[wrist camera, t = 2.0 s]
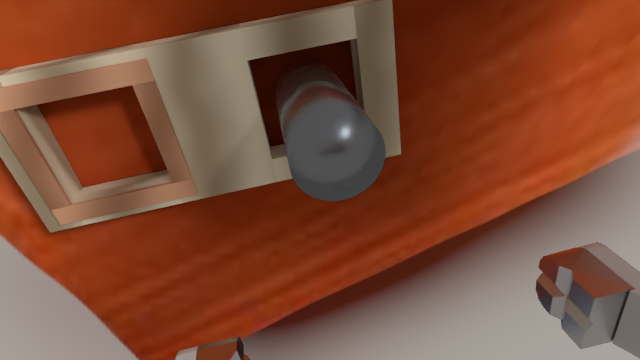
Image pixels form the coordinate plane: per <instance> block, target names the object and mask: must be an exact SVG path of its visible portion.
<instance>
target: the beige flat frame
mask: <svg viewBox="0 0 640 360" xmlns="http://www.w3.org/2000/svg"><path fill="white" fill-rule="evenodd" d="M346 40H350V45H351V53H352V62H353V71H354V79H355V88H356V97H357V102H358V104H359V105H360V106H361V108H362V109H363V110H364V112H365V113H366V114H367V115H368V117H369V118H370V119H371V121H372V122H373V123H374V125H375V126H376V127H377V128H378V130H379V131H380V133H381V135H382V137H383V140H384V143H385V149H386V155H385V158H387V157H391V156H395V155H400V154H401V141H400V124H399V107H398V90H397V73H396V56H395V39H394V22H393V5H392V0H356V1H351V2H346V3H341V4H336V5H331V6H326V7H321V8H316V9H311V10H306V11H300V12H295V13H290V14H285V15H280V16H275V17H270V18H265V19H260V20H255V21H250V22H245V23H240V24H235V25H229V26H224V27H219V28H214V29H209V30H204V31H199V32H194V33H189V34H184V35H179V36H174V37H169V38H163V39H158V40H153V41H148V42H143V43H138V44H133V45H128V46H123V47H118V48H113V49H108V50H103V51H97V52H92V53H87V54H82V55H77V56H72V57H67V58H62V59H57V60H52V61H47V62H42V63H37V64H31V65H26V66H21V67H16V68H11V69H6V70H1V71H0V157H1V159H2V160H3V162H4V163H5V165H6V166H7V168H8V169H9V171H10V172H11V174H12V175H13V177H14V178H15V180H16V181H17V183H18V184H19V186H20V187H21V189H22V191H23V192H24V194H25V195H26V197H27V198H28V200H29V201H30V203H31V204H32V206H33V207H34V209H35V210H36V212H37V213H38V215H39V216H40V218H41V220H42V221H43V223H44V224H45V226H46V227H47V229H48V230H49V232H50V233H51V232H56V231H60V230H64V229H69V228H73V227H78V226H82V225H87V224H91V223H96V222H100V221H105V220H109V219H114V218H118V217H123V216H127V215H132V214H136V213H141V212H145V211H149V210H154V209H158V208H163V207H167V206H172V205H176V204H181V203H185V202H190V201H194V200H199V199H203V198H208V197H212V196H217V195H221V194H226V193H230V192H234V191H239V190H243V189H248V188H252V187H257V186H261V185H266V184H270V183H275V182H279V181H284V180H288V179H293V177H292V175H291V172H290V168H289V163H288V159H287V154H286V149H285V144H281V145H276V146H272V147H270V143H269V139H268V135H267V131H266V127H265V123H264V119H263V115H262V111H261V107H260V103H259V99H258V95H257V91H256V87H255V83H254V79H253V75H252V71H251V67H250V63H249V60H253V59H258V58H263V57H268V56H272V55H277V54H282V53H287V52H292V51H297V50H302V49H307V48H312V47H317V46H322V45H327V44H332V43H336V42H341V41H346ZM131 85H132V86H133V88H134V91H135V93H136V96H137V98H138V101H139V103H140V105H141V108H142V110H143V113H144V115H145V117H146V120H147V122H148V125H149V127H150V129H151V132H152V134H153V137H154V139H155V141H156V144H157V146H158V149H159V151H160V153H161V156H162V158H163V161H164V163H165V166H166V168H167V169H166V170H161V171H157V172H152V173H148V174H143V175H138V176H134V177H129V178H125V179H120V180H115V181H111V182H106V183H102V184H97V185H93V186H88V187H83V186H82V185H81V183H80V181H79V179H78V178H77V176H76V174H75V172H74V170H73V169H72V167H71V165H70V163H69V161H68V160H67V158H66V156H65V154H64V152H63V151H62V149H61V147H60V145H59V143H58V142H57V140H56V138H55V136H54V135H53V133H52V131H51V129H50V127H49V126H48V124H47V122H46V120H45V118H44V117H43V115H42V113H41V111H40V109H39V108H38V106H37V104H42V103H47V102H52V101H57V100H62V99H67V98H72V97H77V96H82V95H87V94H92V93H96V92H101V91H106V90H111V89H116V88H121V87H126V86H131Z"/></svg>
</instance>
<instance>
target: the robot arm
mask: <svg viewBox="0 0 640 360" xmlns="http://www.w3.org/2000/svg"><path fill="white" fill-rule="evenodd" d="M539 268H540V270H542V272H543V273H542V274H541V275H540V276H539V278H538V279H537V281H536V292H537V295H538V299H539V300H540V302H541V304H542V305H543V307H544V308H545V309H546V311H547V312H548V313H549V314H550V315H552V316H555V317H557V318H559V319H561V325H562V329H563V330H564V331H565V332H566V333H567V334H568V335H569V337H570V338H571V339H572V340H573V341H574V342H575V343H576V344H577V346H578V347H579V348H580V349H583V348H587V347H591V346H595V345H599V344H603V343H608V342H612V341H613V344H615V345H617V346H619V347H620V348H622V349H624V350H626V351H628V352H630V353H631V354H633V355H635V356H637V357H639V358H640V272H639V271H638V270H636V269H635V268H634V267H632V266H631V265H630V264H628V263H627V262H626V261H625V260H623V259H622V258H621V257H619V256H618V255H617V254H615V253H614V252H613V251H612V250H610V249H609V248H608V247H606V246H605V245H603V244H601V243H598V242H596V243H592V244H589V245H585V246H581V247H578V248H573V249H569V250H565V251H561V252H558V253H554V254H551V255H547V256H543V258H542V259H541V260H540V263H539ZM175 360H250V359H249V357H248V356H247V355H245V354H244V345H243V342H242V340H241V338H240V337H234V338H229V339H225V340H221V341H216V342H212V343H208V344H203V345H199V346H196V347H192V348H187V349H183V350H179V351H178V353H177V355H176V357H175Z"/></svg>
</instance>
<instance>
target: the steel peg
mask: <svg viewBox="0 0 640 360" xmlns="http://www.w3.org/2000/svg"><path fill="white" fill-rule="evenodd" d="M274 96H275V102H276V106H277V111H278V116H279V121H280V125H281V130H282V135H283V140H284V144H285V149H286V154H287V159H288V163H289V168H290V172H291V175H292V177H293V180H294V181H295V183H296V184H297V186H298V187H299V188H300V189H301V190H302V191H304V192H305V193H306V194H308V195H309V196H311V197H314V198H316V199H320V200H324V201H340V200H345V199H349V198H352V197H354V196H356V195H358V194H360V193H362V192H363V191H365V190H366V189H367V188H368V187H370V186H371V185H372V184H373V183H374V181H375V180H376V179H377V177H378V176H379V174H380V172H381V170H382V168H383V165H384V162H385V155H386V149H385V143H384V140H383V137H382V135H381V133H380V131H379V130H378V128H377V127H376V126H375V125H374V123H373V122H372V121H371V119H370V118H369V117H368V115H367V114H366V113H365V112H364V110H363V109H362V108H361V106H360V105H359V104H358V102H357V101H356V100H355V99H354V97H353V96H352V95H351V93H350V92H349V91H348V89H347V88H346V87H345V86H344V84H343V83H342V82H341V80H340V79H339V78H338V76H337V75H336V74H335V73H334V71H333V70H332V69H331V68H330V67H329V66H328V65H326V64H325V63H323V62H321V61H318V60H314V59H303V60H298V61H296V62H293V63H291V64H290V65H288V66H287V67H286V68H285V69H284V70H283V71H282V72H281V73H280V75H279V77H278V78H277V81H276V84H275V89H274Z"/></svg>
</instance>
